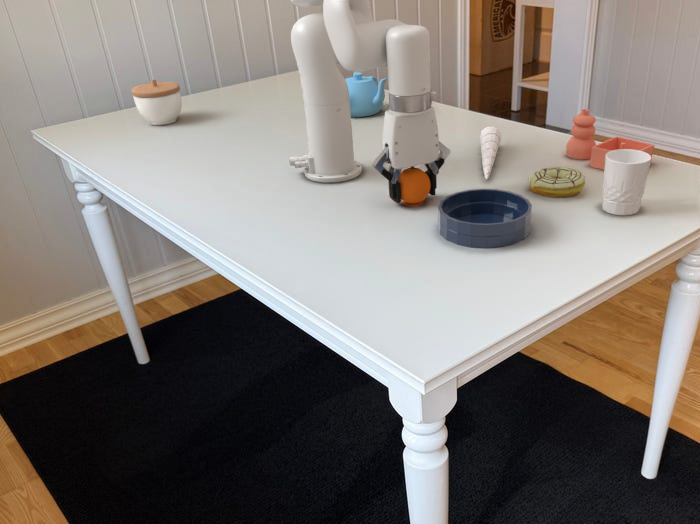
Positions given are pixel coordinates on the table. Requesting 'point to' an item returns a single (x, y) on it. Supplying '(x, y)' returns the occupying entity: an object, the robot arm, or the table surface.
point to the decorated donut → (557, 182)
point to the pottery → (587, 148)
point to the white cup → (624, 180)
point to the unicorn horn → (489, 148)
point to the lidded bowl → (158, 101)
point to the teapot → (365, 95)
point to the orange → (414, 186)
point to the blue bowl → (484, 218)
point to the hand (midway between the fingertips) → (413, 196)
